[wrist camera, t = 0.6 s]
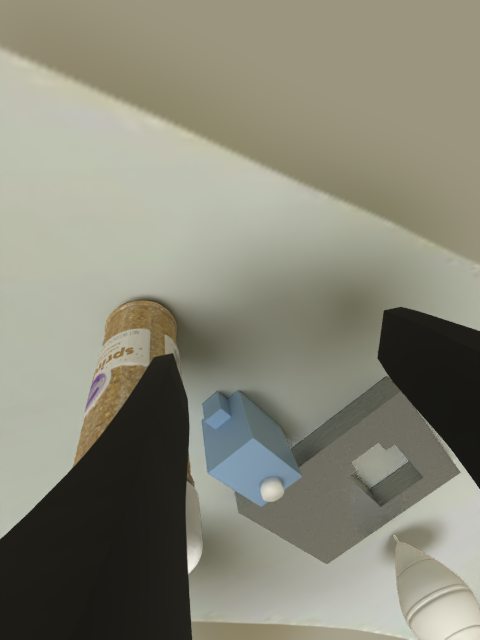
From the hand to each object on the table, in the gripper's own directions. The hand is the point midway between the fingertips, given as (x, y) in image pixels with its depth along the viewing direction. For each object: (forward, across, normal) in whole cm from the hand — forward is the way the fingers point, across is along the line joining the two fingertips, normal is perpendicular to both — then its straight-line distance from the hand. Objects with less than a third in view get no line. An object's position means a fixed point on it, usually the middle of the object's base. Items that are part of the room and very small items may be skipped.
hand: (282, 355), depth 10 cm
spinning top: (+8, -15, +39) cm, 43 cm away
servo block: (+9, +2, +14) cm, 17 cm away
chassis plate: (+9, -8, +24) cm, 27 cm away
